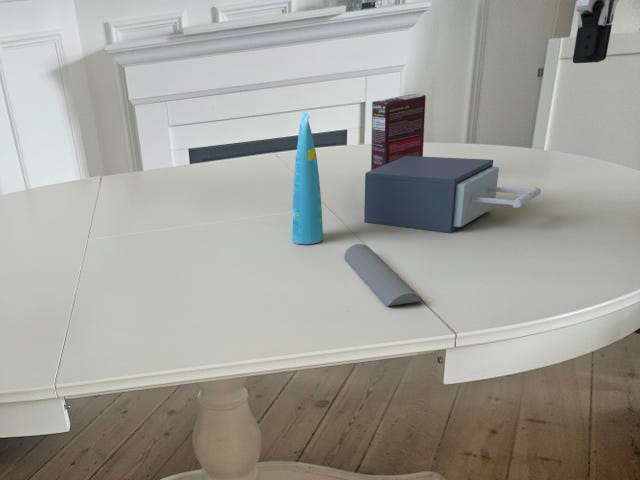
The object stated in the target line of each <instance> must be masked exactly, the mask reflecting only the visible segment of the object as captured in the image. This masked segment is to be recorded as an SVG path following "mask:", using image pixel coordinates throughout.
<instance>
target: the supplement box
mask: <svg viewBox="0 0 640 480" xmlns="http://www.w3.org/2000/svg"><path fill="white" fill-rule="evenodd" d="M426 96H427V95H426V94H416V93H415V94H405V95H401V96H396V97H391V98H386V99H380V100H375V101H374V100H373V101H371V107H372V108H371V109H372V110H371V153H370V154H371V158H370V159H371V162H370V165H371V166H370V171H371V170H374V169H376V168H378V167H381V166H383V165H385V164H388V163H390V162H393V161H395V160H397V159H400V158H402V157H405V156H420V157H424V139H425V121H426V120H425V117H426V101H427V99H426Z"/></svg>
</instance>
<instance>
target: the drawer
mask: <svg viewBox="0 0 640 480" xmlns="http://www.w3.org/2000/svg"><path fill="white" fill-rule="evenodd" d="M499 172H500V166H493V167H490V168H488V169H486V170H484V171H482V172H478V173H476V174H474V175H472V176H471V177H470V178H468V179H466V180H464V181H462V182H460V183H458V184H457V187H456V198H455V210H454V221H453V226H456V227H460V228H462V227H463V226H465V225H467V224H469V223H470V222H472V221H473V220H476V219H477V218H478V217H480V216H482V215H484V214H485V213H487V212H489V211H490V210H492V209H494V208H495V206H496V205H507V206H512V207H513V208H514V209H518V208H520V207H522V206H523V205H525V204H527V203H528V202H530V201H531V200H534V199H535V198H536V197H538V196H539V195H541V193H542V191H541V189H540V188H539V187H534V188H532V189H527V188H513V187H500V186H498V182H499V181H498V180H499ZM497 193H506V194H518V195H520V196H519V197H517V198H515V199H507V198H496V196H497Z"/></svg>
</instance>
